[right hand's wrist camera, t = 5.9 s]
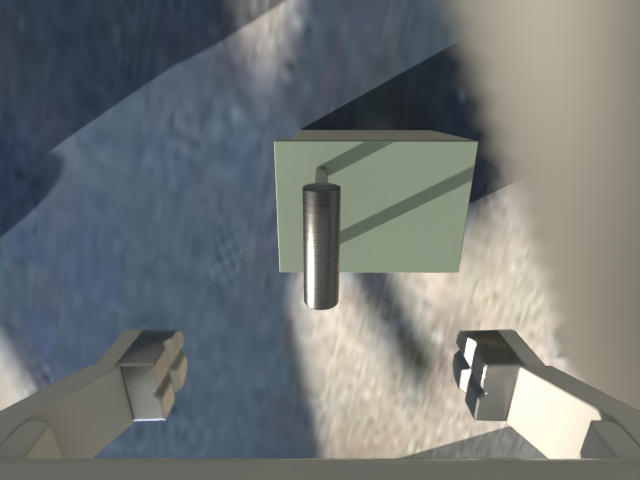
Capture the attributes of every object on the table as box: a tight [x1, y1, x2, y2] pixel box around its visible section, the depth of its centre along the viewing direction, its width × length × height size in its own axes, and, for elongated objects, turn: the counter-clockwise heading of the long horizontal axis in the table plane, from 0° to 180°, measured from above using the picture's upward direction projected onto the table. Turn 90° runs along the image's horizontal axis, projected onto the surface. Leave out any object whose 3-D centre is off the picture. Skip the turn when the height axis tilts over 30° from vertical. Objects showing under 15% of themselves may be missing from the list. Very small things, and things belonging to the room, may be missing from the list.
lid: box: [274, 139, 478, 310], centre depth 21 cm, size 13×9×8 cm
